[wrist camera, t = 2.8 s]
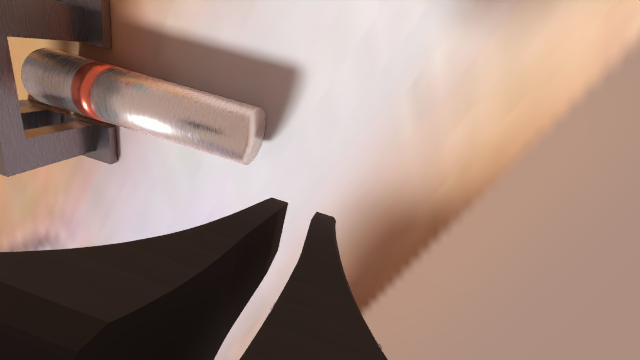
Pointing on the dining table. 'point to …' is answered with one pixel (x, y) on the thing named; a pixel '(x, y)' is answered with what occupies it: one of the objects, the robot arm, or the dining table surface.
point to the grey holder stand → (78, 132)
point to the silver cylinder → (145, 104)
